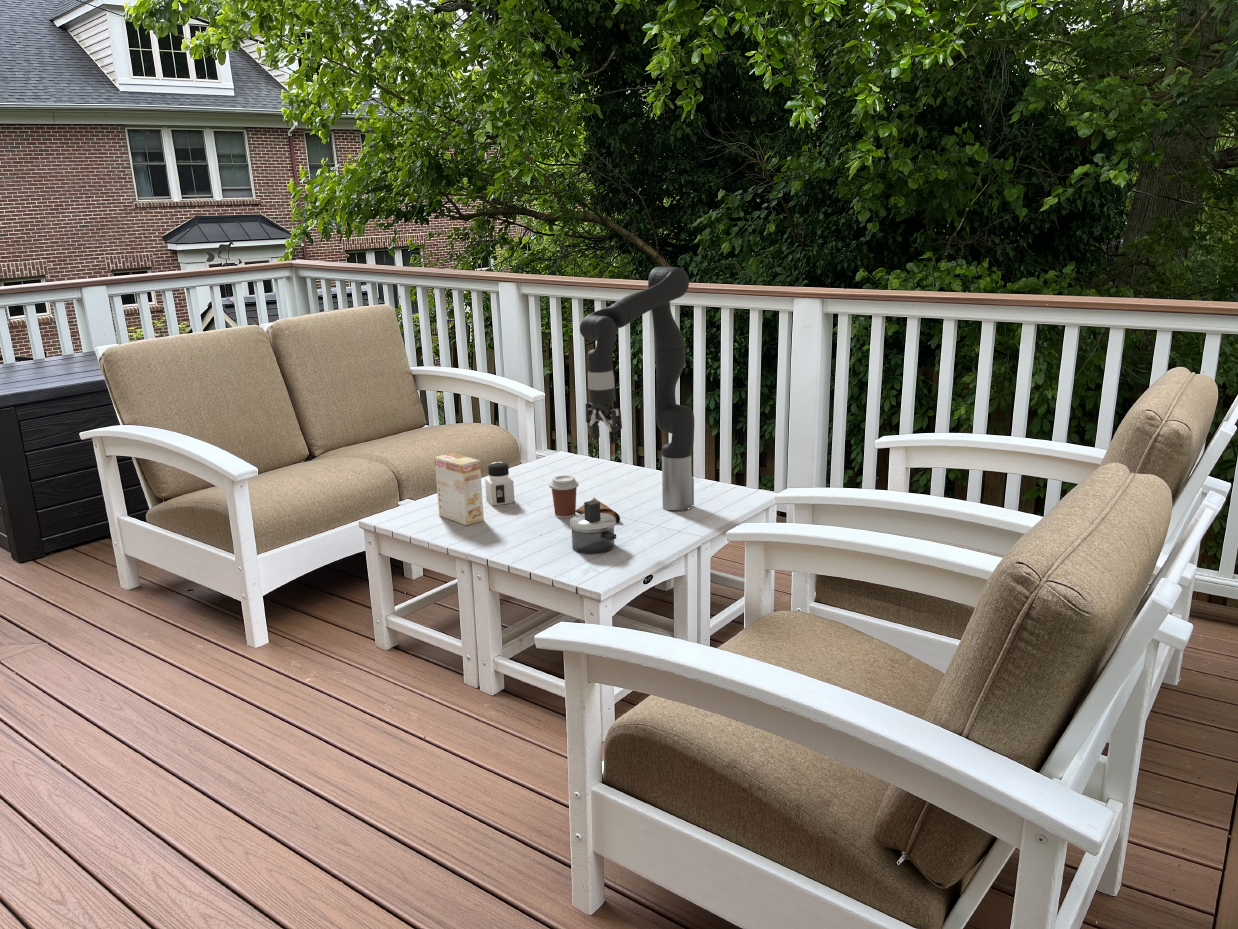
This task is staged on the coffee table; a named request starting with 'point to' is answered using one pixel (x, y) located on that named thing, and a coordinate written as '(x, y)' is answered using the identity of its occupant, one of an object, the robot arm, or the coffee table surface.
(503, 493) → the container
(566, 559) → the coffee table surface
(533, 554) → the coffee table surface
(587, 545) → the pot
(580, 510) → the sunglasses case
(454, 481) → the coffeecake box
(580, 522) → the lid
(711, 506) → the coffee table surface
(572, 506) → the coffee cup
